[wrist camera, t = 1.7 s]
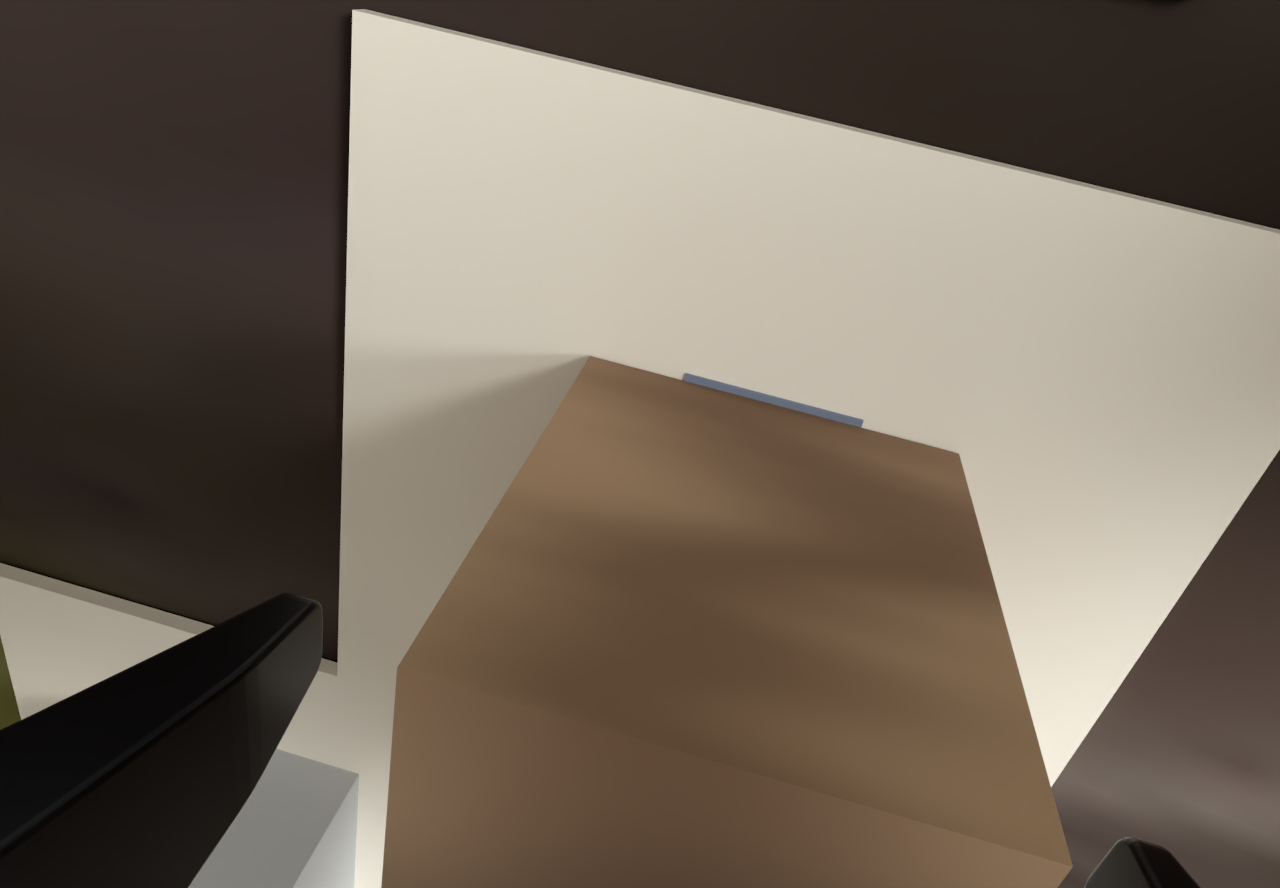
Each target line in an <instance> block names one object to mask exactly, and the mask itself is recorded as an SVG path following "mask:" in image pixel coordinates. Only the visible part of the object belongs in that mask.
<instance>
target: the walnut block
mask: <svg viewBox="0 0 1280 888" xmlns="http://www.w3.org/2000/svg"><path fill="white" fill-rule="evenodd" d="M1072 867H1073V866H1072V862H1071V858H1070V855H1069V851H1068V848H1067V844H1066V840H1065V837H1064V833H1063V829H1062V826H1061V822H1060V818H1059V815H1058V811H1057V808H1056V804H1055V800H1054V797H1053V793H1052V789H1051V786H1050V782H1049V779H1048V775H1047V771H1046V768H1045V764H1044V760H1043V757H1042V753H1041V749H1040V746H1039V742H1038V739H1037V735H1036V731H1035V728H1034V724H1033V720H1032V717H1031V713H1030V710H1029V706H1028V702H1027V699H1026V695H1025V691H1024V688H1023V684H1022V680H1021V677H1020V673H1019V670H1018V666H1017V662H1016V659H1015V655H1014V651H1013V648H1012V644H1011V640H1010V637H1009V633H1008V630H1007V626H1006V622H1005V619H1004V615H1003V611H1002V608H1001V604H1000V601H999V597H998V593H997V590H996V586H995V582H994V579H993V575H992V571H991V568H990V564H989V561H988V557H987V553H986V550H985V546H984V542H983V539H982V535H981V532H980V528H979V524H978V521H977V517H976V513H975V510H974V506H973V502H972V499H971V495H970V492H969V488H968V484H967V481H966V477H965V473H964V470H963V466H962V463H961V459H960V455H959V453H955V452H951V451H947V450H944V449H940V448H936V447H932V446H928V445H925V444H921V443H917V442H913V441H910V440H906V439H902V438H898V437H894V436H891V435H887V434H883V433H879V432H876V431H872V430H868V429H864V428H860V427H857V426H853V425H849V424H845V423H842V422H838V421H834V420H830V419H827V418H823V417H819V416H815V415H811V414H808V413H804V412H800V411H796V410H793V409H789V408H785V407H781V406H777V405H774V404H770V403H766V402H762V401H759V400H755V399H751V398H747V397H743V396H740V395H736V394H732V393H728V392H725V391H721V390H717V389H713V388H709V387H706V386H702V385H698V384H694V383H691V382H687V381H683V380H679V379H676V378H672V377H668V376H664V375H660V374H657V373H653V372H649V371H645V370H642V369H638V368H634V367H630V366H626V365H623V364H619V363H615V362H611V361H608V360H604V359H600V358H596V357H592V356H590V357H589V359H588V360H587V362H586V364H585V365H584V367H583V368H582V370H581V372H580V373H579V375H578V377H577V378H576V380H575V381H574V383H573V385H572V386H571V388H570V389H569V391H568V393H567V394H566V396H565V398H564V399H563V401H562V402H561V404H560V406H559V407H558V409H557V410H556V412H555V414H554V415H553V417H552V418H551V420H550V422H549V423H548V425H547V427H546V428H545V430H544V431H543V433H542V435H541V436H540V438H539V439H538V441H537V443H536V444H535V446H534V448H533V449H532V451H531V452H530V454H529V456H528V457H527V459H526V460H525V462H524V464H523V465H522V467H521V469H520V470H519V472H518V473H517V475H516V477H515V478H514V480H513V481H512V483H511V485H510V486H509V488H508V490H507V491H506V493H505V494H504V496H503V498H502V499H501V501H500V502H499V504H498V506H497V507H496V509H495V511H494V512H493V514H492V515H491V517H490V519H489V520H488V522H487V523H486V525H485V527H484V528H483V530H482V531H481V533H480V535H479V536H478V538H477V540H476V541H475V543H474V544H473V546H472V548H471V549H470V551H469V552H468V554H467V556H466V557H465V559H464V561H463V562H462V564H461V565H460V567H459V569H458V570H457V572H456V573H455V575H454V577H453V578H452V580H451V582H450V583H449V585H448V586H447V588H446V590H445V591H444V593H443V594H442V596H441V598H440V599H439V601H438V603H437V604H436V606H435V607H434V609H433V611H432V612H431V614H430V615H429V617H428V619H427V620H426V622H425V624H424V625H423V627H422V628H421V630H420V632H419V633H418V635H417V636H416V638H415V640H414V641H413V643H412V644H411V646H410V648H409V649H408V651H407V653H406V654H405V656H404V657H403V659H402V661H401V662H400V664H399V665H398V667H397V676H396V690H395V704H394V718H393V732H392V746H391V760H390V774H389V788H388V802H387V816H386V829H385V843H384V857H383V871H382V885H381V888H1057V887H1058V886H1059V885H1060V883H1061V882H1062V881H1063V879H1064V878H1065V877H1066V875H1067V874H1068V873H1069V871H1070V870H1071V869H1072Z"/></svg>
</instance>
